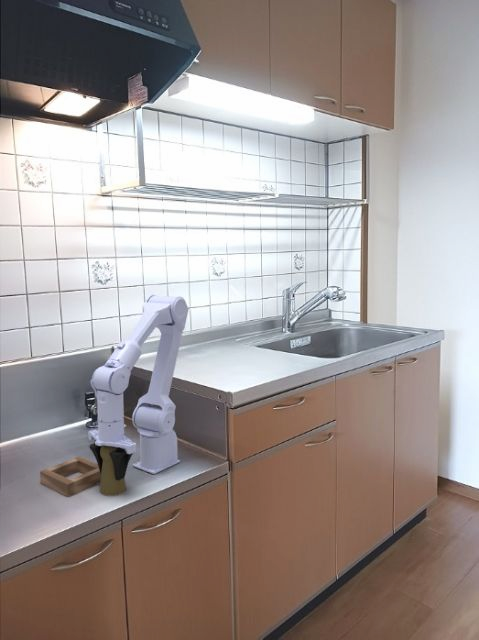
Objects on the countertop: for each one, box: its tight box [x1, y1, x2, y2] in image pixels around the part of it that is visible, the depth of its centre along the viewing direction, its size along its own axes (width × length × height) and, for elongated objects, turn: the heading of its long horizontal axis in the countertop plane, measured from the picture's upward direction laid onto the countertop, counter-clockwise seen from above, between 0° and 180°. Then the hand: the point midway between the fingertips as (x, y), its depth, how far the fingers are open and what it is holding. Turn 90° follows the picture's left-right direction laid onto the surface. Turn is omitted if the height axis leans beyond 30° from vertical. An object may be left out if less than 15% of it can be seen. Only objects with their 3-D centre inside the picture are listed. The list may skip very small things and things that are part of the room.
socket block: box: [39, 456, 101, 498], centre depth 119 cm, size 11×11×3 cm
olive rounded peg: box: [99, 445, 127, 497], centre depth 115 cm, size 6×6×11 cm
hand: (112, 475), depth 115 cm, fingers closed on olive rounded peg, 5 cm apart
